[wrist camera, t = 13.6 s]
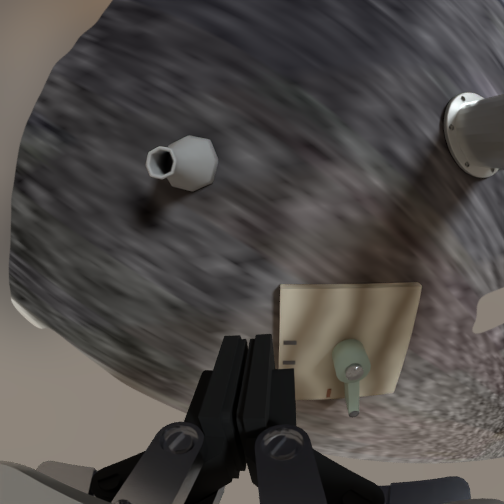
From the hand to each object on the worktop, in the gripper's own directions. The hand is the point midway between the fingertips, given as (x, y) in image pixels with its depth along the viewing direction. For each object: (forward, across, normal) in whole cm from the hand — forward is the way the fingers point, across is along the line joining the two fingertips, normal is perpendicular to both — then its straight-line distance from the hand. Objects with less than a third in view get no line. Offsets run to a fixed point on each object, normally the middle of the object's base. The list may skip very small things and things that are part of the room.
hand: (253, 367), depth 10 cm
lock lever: (+25, -10, +23) cm, 35 cm away
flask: (+27, +9, -9) cm, 30 cm away
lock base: (+27, -9, +19) cm, 34 cm away
